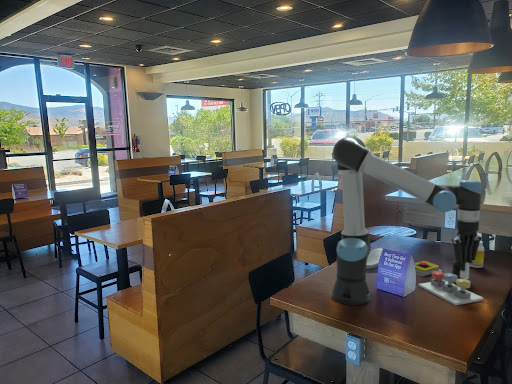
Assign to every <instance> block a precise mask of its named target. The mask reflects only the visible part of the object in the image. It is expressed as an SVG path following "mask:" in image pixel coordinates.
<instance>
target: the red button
mask: <svg viewBox="0 0 512 384" xmlns="http://www.w3.org/2000/svg"><path fill="white" fill-rule="evenodd" d="M444 274H445V272H443V271H441V272H439V271H433V272H432V274H431V279H436V281H437V282H439V281H440V280H444Z"/></svg>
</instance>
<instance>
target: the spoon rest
mask: <svg viewBox="0 0 512 384" xmlns="http://www.w3.org/2000/svg"><path fill="white" fill-rule="evenodd" d="M382 250H383V248H380V247H378V248H375V249H373V250H371V251H370V253H369V255H368V259H367V263H366V270H368V269H369V270H370V269H375V268H376V267H377V266H379V264H380V262H379V259H380V256H381V257H382V254H383V252H382ZM381 253H382V254H381ZM378 263H379V264H378Z"/></svg>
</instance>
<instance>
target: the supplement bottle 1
mask: <svg viewBox="0 0 512 384" xmlns="http://www.w3.org/2000/svg"><path fill="white" fill-rule="evenodd" d="M470 273H471V269H470V270H469V276H470V275H471V274H470ZM451 274H455V275H457V279H463V278H461V277H460V262H459V261H456V258H455V260H453V262H452V271H451ZM466 280H469V281H470V277H469V278H468V279H466ZM454 284H456V282H454Z"/></svg>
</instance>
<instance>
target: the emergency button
mask: <svg viewBox="0 0 512 384" xmlns="http://www.w3.org/2000/svg"><path fill="white" fill-rule="evenodd" d="M415 269H416V274H415V275H417V276H419V277H427V276H429V275H430V276H431V275H432V272H433V271H439V272H443V270H442V269H440V266H439V265H438V264H435V263H432V262H429V261H427V260H426V261H425V260H422V261H418V262H415Z"/></svg>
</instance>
